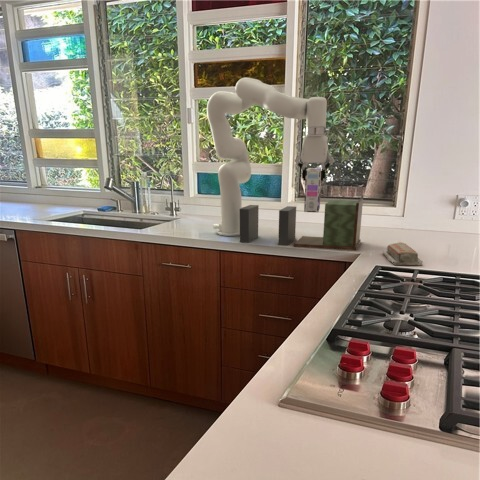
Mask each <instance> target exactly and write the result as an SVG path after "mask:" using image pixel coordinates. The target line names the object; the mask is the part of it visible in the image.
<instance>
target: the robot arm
mask: <svg viewBox="0 0 480 480" xmlns="http://www.w3.org/2000/svg"><path fill="white" fill-rule="evenodd" d="M254 105H256V106H258V107H261V108H263V109H265V110H267V111H270V112H272V113H274V114H276V115H279V116H281V117H283V118H287V119H294V120H306V121H305V135H304V136H303V140H302V146H301V153H300V154H299V155H298V156H297V157H296V158H295V159H294V162H295V164H297V165H298V167H299V168H300V169H301V179H302V180H303V181H304V182H305V178H306V170H307V168H308V164H320V166H321V182H323V181H324V180H325V179H326V171H327V169H328V168H329V167H330V166H331V165H332V164H334V162H335V159H334V158H333V156H332V155H331V154H330V153H329V140H328V139H329V138H328V135H327V134H329V133H330V128H327V112H328V111H327V108H328V100H327V98H326V97H324V96H312V97H309V98H304V97H299V96H291V95H289V94H286V93H284V92H280V91H278V90H276V88H275V86H274V85H270V84H267V83H264V82H263V81H262V80H260V79H257V78H252V77H248V76H247V77H241V78H240V79H239V80H238V81H237V82H236V84H235V92H231V91H223V90H221V91H216V92H214V93H213V94H212V95H211V96H210V97H209V99H208V101H207V105H206V116H207V120H208V124H209V127H210V131H211V135H212V140H213V144H214V150H215V153H216V155H217V157H218V158H219V159H220V160H224V161H228V162H225V163H223V164H222V165H220V167H219V168H218V171H217V179H218V183H219V189H220V190H219V191H220V192H219V193H220V223H219V224H217V223H215V224H213V229H214V230H218V231H217V235H219V236H225V237H237V236H239V237H240V209H241V208H243V206H242V190H241V186H240V184H245V183H247V182H248V181H250V179H251V176H252V167H251V162H250V158H249V152H248V148H247V145H246V143H245V141H244V140H243V139H242V138H240V137H237V136H233V133H232V128H231V124H230V122H229V120H228V118H227V117H226V114H227V115H239V114H242V113H243V112H245V111H247V110H248V109H250V108H252V107H253V106H254ZM229 161H230V162H229Z"/></svg>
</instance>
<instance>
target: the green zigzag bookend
mask: <svg viewBox="0 0 480 480" xmlns="http://www.w3.org/2000/svg"><path fill="white" fill-rule="evenodd" d="M363 205H364V198H363V197H360V198H359V199H358V200H341V199H330V200H329V201H327V202H326V203H325V204H324V219H323V234H322V236H310V235H309V236H307V235H302V236H300V237H299V238H298V239H297V240H296V241H295V242H294V243H293V247H297V248H309V249H310V248H313V249H325V250H341V251H357V250H358V247H359V246H360V244H361V241H362V240H361V239H360V238H361V227H362V216H363Z"/></svg>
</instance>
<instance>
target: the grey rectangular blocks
mask: <svg viewBox="0 0 480 480" xmlns="http://www.w3.org/2000/svg"><path fill="white" fill-rule="evenodd" d="M259 207H260V206H259V204H249V205H246V206H242V208H241V209H240V235H239V243H246V244H247V243H248V244H249V243H250V242H252V241H254V240H256V239H257V238H259ZM296 221H297V206H294V205H293V206H291V205H289V206H285V207H283V208H282V209H279V210H278V236H277V237H278V238H277V241H278V243H277V245H279V246H288V245H290V244H291V243H292V242H293V241H294V240H296V228H297V227H296V226H297V222H296Z"/></svg>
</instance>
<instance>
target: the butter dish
mask: <svg viewBox="0 0 480 480" xmlns="http://www.w3.org/2000/svg"><path fill="white" fill-rule="evenodd" d="M381 252H382V255H384V256H385V257H386V259H387V260H388V262H391V263H392V264H393V265H394V266H422V265H423V260H422V259H420V258H419V253H418V252H417V251H416V250H415V249H413V248H412V247H410V246H409V245H408V244H407V243H404V242H395V243H391V244H388V245H387V247H386V250H385V251H384V250H382V251H381ZM392 261H393V262H394V263H393V262H392Z"/></svg>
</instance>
